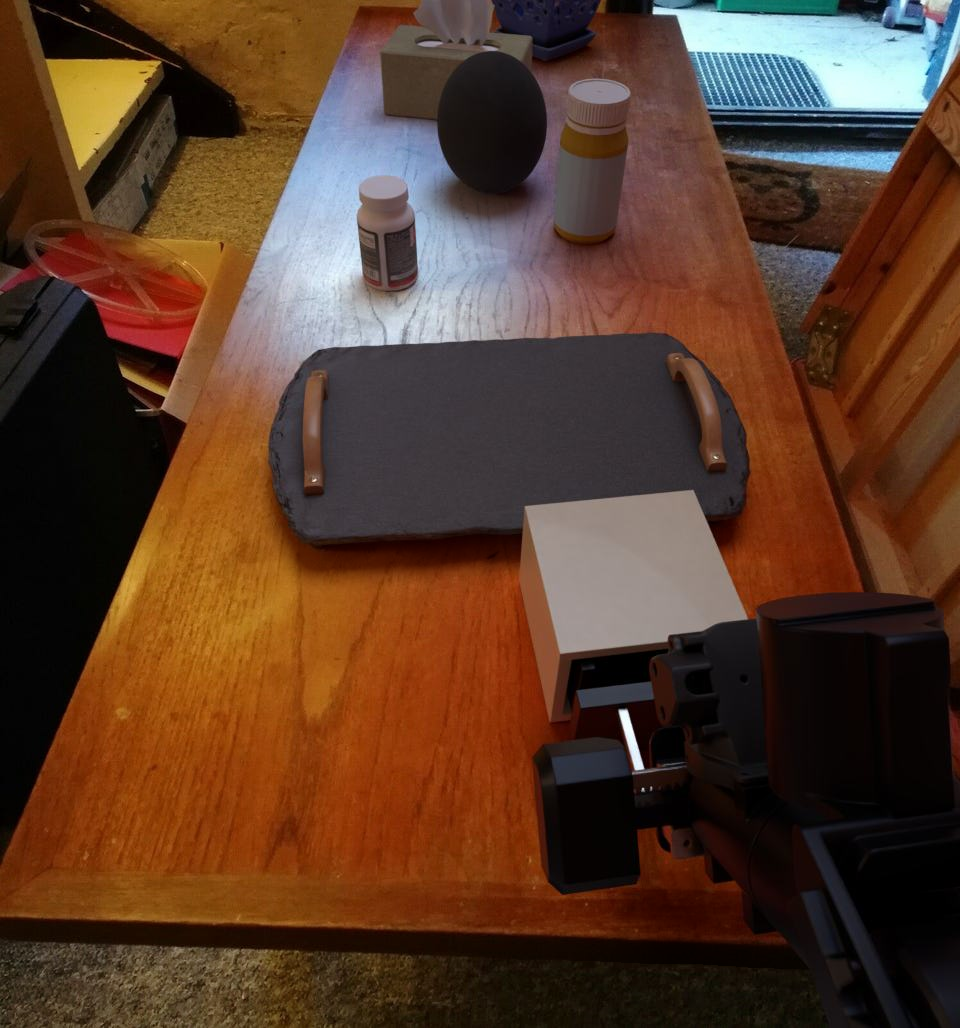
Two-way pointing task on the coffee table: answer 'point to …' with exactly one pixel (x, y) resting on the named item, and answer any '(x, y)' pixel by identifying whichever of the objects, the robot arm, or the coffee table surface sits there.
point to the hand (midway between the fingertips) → (679, 737)
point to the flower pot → (548, 23)
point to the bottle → (591, 161)
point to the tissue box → (439, 53)
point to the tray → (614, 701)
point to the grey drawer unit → (617, 581)
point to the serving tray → (498, 434)
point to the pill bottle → (387, 233)
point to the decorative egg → (492, 122)
